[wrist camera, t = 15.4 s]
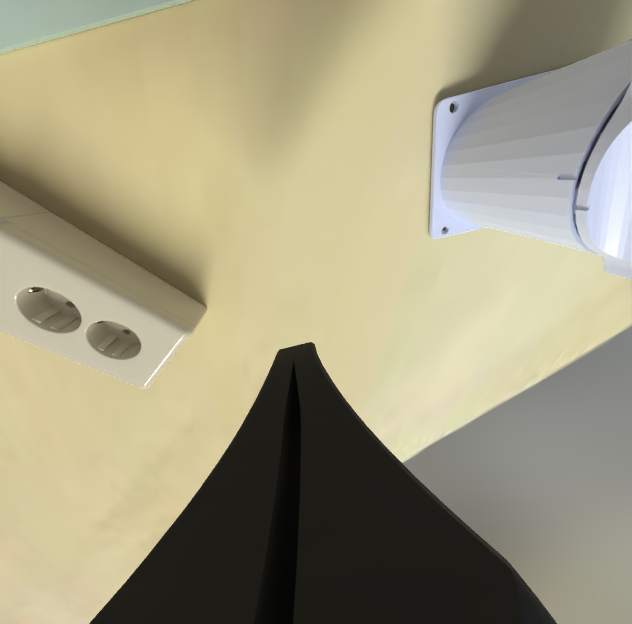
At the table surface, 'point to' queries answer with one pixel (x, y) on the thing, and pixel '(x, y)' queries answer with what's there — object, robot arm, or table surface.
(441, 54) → the table surface
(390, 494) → the robot arm
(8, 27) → the sage mat
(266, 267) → the table surface
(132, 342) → the electrical outlet
